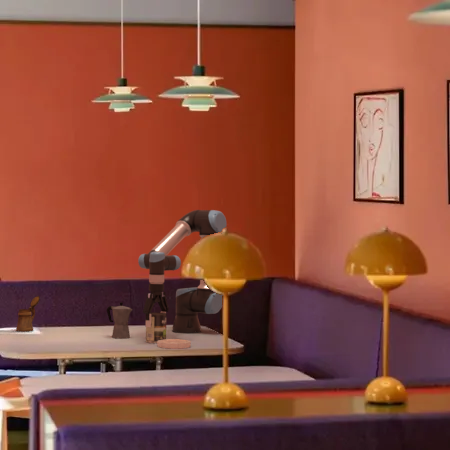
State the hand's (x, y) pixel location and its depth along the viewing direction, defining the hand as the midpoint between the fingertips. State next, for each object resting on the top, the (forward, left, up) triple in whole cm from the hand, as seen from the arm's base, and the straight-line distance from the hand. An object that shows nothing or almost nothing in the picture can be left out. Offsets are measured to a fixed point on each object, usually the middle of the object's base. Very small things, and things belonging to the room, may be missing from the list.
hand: (155, 325), depth 596 cm
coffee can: (0, 0, -8) cm, 8 cm away
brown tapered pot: (+1, -79, -8) cm, 79 cm away
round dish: (+9, +16, -8) cm, 20 cm away
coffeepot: (-3, -24, -8) cm, 25 cm away
